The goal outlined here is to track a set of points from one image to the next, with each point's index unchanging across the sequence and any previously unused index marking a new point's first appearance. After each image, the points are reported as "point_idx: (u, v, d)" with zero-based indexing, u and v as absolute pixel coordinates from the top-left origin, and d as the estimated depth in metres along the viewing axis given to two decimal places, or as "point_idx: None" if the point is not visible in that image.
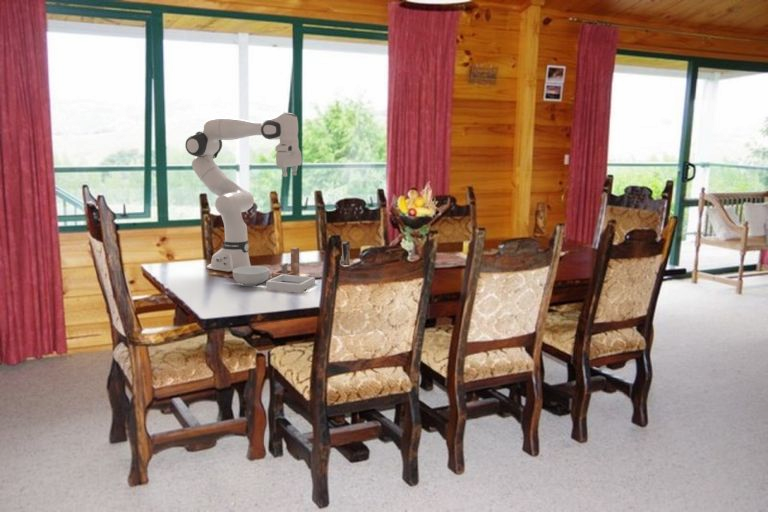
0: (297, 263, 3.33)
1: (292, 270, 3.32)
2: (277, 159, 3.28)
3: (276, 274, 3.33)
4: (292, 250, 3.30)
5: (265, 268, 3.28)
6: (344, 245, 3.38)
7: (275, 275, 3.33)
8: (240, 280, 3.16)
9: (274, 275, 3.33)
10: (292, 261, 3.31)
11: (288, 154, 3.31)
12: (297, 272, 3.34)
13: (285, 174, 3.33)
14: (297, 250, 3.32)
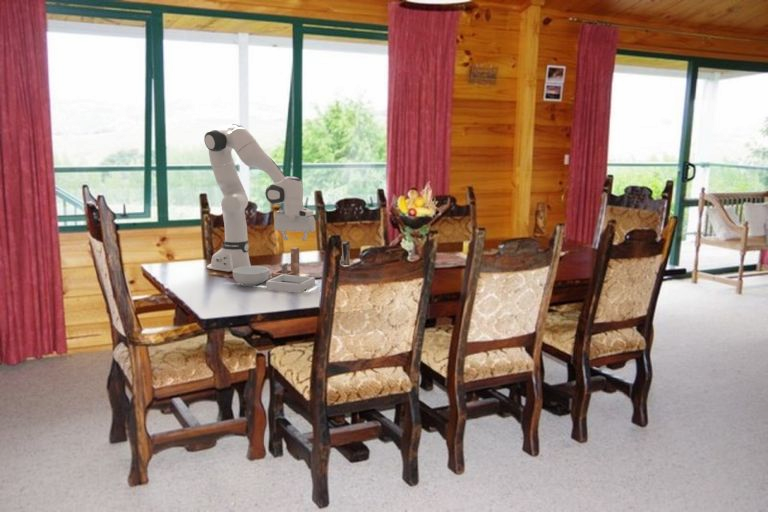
0: (297, 263, 3.33)
1: (292, 270, 3.32)
2: (312, 224, 3.25)
3: (276, 274, 3.33)
4: (292, 250, 3.30)
5: (265, 268, 3.28)
6: (344, 245, 3.38)
7: (275, 275, 3.33)
8: (240, 280, 3.16)
9: (274, 275, 3.33)
10: (292, 261, 3.31)
11: None
12: (297, 272, 3.34)
13: (305, 238, 3.30)
14: (297, 250, 3.32)
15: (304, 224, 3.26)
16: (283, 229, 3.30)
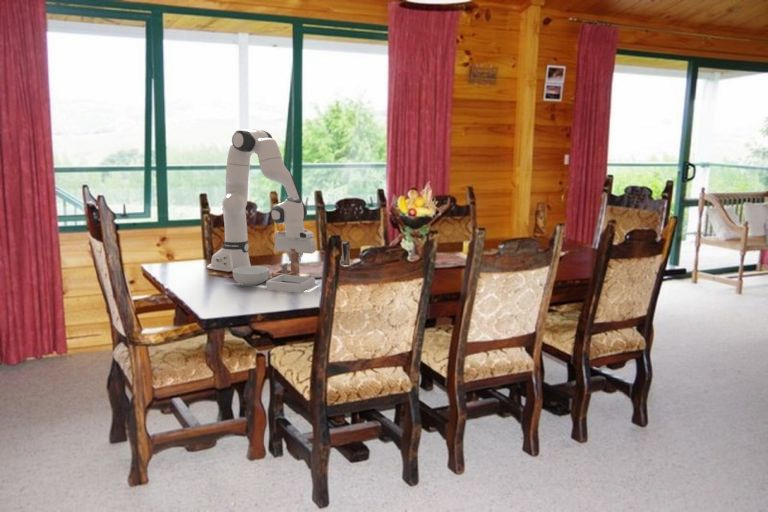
0: (297, 263, 3.33)
1: (292, 270, 3.32)
2: (312, 246, 3.28)
3: (276, 274, 3.33)
4: (292, 250, 3.30)
5: (265, 268, 3.28)
6: (344, 245, 3.38)
7: (275, 275, 3.33)
8: (240, 280, 3.16)
9: (274, 275, 3.33)
10: (292, 261, 3.31)
11: None
12: (297, 272, 3.34)
13: (300, 259, 3.33)
14: None
15: (305, 245, 3.28)
16: (283, 250, 3.32)
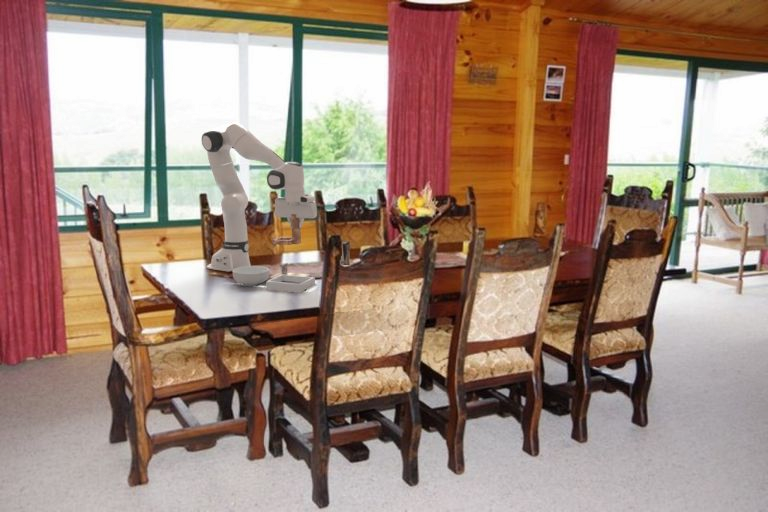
0: (298, 229, 3.24)
1: (293, 236, 3.23)
2: (314, 210, 3.18)
3: (277, 241, 3.24)
4: (293, 215, 3.21)
5: (265, 268, 3.28)
6: (344, 245, 3.38)
7: (276, 242, 3.24)
8: (240, 280, 3.16)
9: (275, 242, 3.24)
10: (293, 227, 3.23)
11: None
12: (298, 239, 3.25)
13: (301, 225, 3.24)
14: None
15: (306, 210, 3.19)
16: (284, 216, 3.23)
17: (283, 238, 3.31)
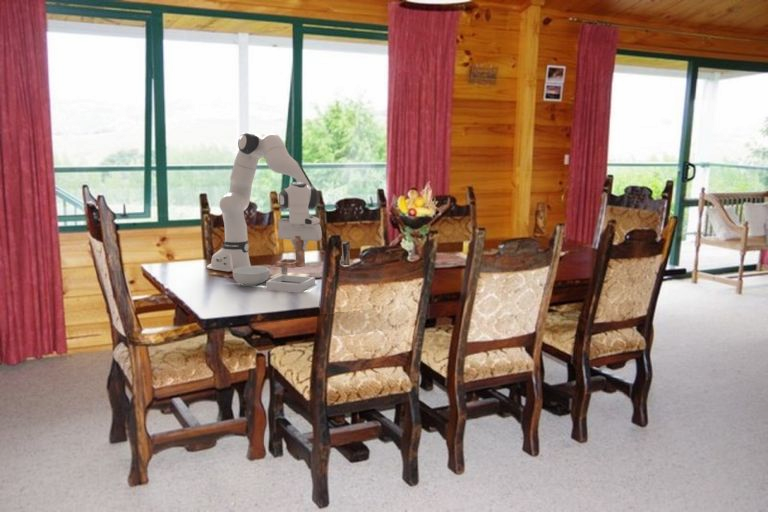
0: (302, 252, 3.13)
1: (297, 259, 3.13)
2: (318, 233, 3.08)
3: (280, 263, 3.13)
4: (297, 238, 3.11)
5: (265, 268, 3.28)
6: (344, 245, 3.38)
7: (279, 264, 3.13)
8: (240, 280, 3.16)
9: (278, 264, 3.13)
10: (297, 249, 3.12)
11: None
12: (302, 261, 3.14)
13: (305, 247, 3.13)
14: None
15: (310, 232, 3.08)
16: (287, 237, 3.12)
17: (286, 260, 3.20)
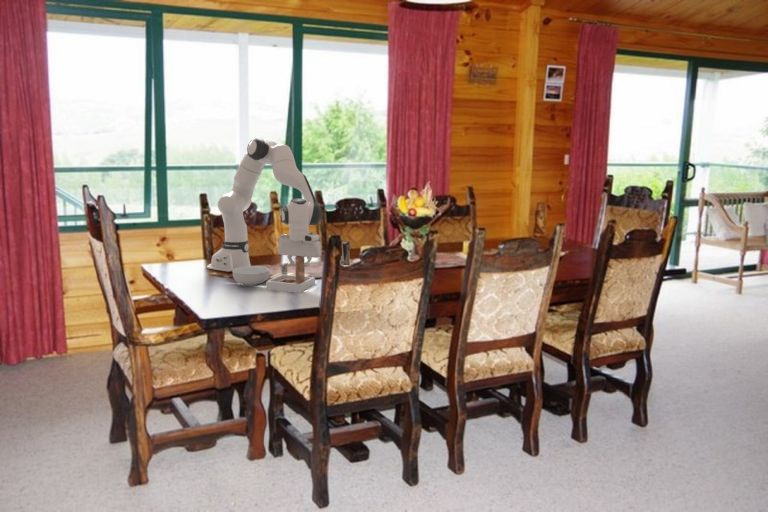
0: (302, 272, 3.15)
1: (297, 279, 3.14)
2: (318, 249, 3.09)
3: None
4: (297, 258, 3.12)
5: (265, 268, 3.28)
6: (344, 245, 3.38)
7: None
8: (240, 280, 3.16)
9: None
10: (297, 270, 3.13)
11: None
12: None
13: (308, 264, 3.14)
14: (302, 258, 3.14)
15: (310, 249, 3.10)
16: (287, 254, 3.14)
17: (286, 280, 3.22)
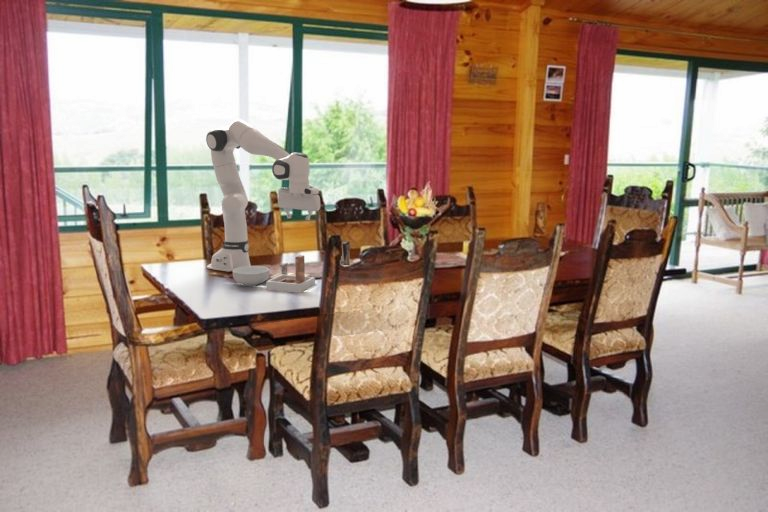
0: (302, 272, 3.15)
1: (297, 279, 3.14)
2: (317, 203, 3.15)
3: None
4: (297, 258, 3.12)
5: (265, 268, 3.28)
6: (344, 245, 3.38)
7: None
8: (240, 280, 3.16)
9: None
10: (297, 270, 3.13)
11: None
12: None
13: (309, 217, 3.19)
14: (302, 258, 3.14)
15: (309, 202, 3.15)
16: (287, 207, 3.19)
17: (286, 280, 3.22)
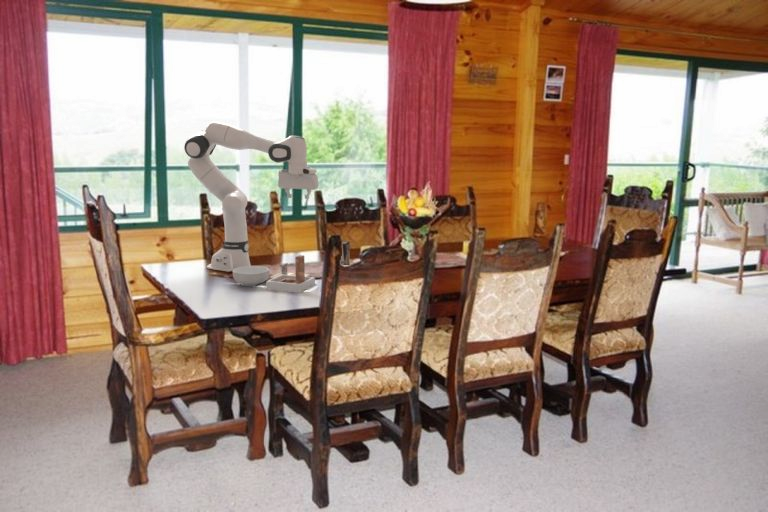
0: (302, 272, 3.15)
1: (297, 279, 3.14)
2: (315, 182, 3.35)
3: None
4: (297, 258, 3.12)
5: (265, 268, 3.28)
6: (344, 245, 3.38)
7: None
8: (240, 280, 3.16)
9: None
10: (297, 270, 3.13)
11: None
12: None
13: (308, 196, 3.40)
14: (302, 258, 3.14)
15: (308, 182, 3.36)
16: (287, 187, 3.40)
17: (286, 280, 3.22)
